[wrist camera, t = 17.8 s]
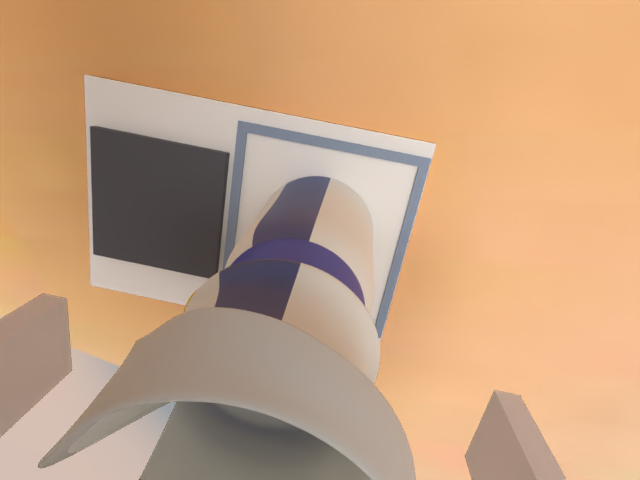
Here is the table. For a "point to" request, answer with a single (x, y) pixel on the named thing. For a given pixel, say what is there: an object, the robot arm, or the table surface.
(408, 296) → the table surface
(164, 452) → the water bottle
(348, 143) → the stamp station
